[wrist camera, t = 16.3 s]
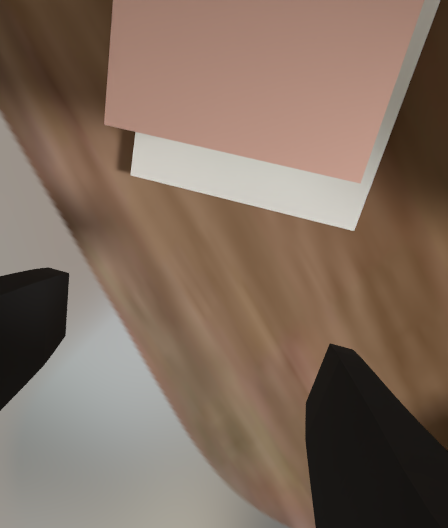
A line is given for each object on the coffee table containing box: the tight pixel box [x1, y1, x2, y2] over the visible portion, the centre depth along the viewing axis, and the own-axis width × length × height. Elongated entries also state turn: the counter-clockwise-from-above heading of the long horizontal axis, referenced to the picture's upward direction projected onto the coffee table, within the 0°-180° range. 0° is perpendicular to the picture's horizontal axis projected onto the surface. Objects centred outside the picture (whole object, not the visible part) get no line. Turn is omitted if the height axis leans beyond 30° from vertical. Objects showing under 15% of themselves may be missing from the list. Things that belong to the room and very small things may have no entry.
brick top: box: [104, 0, 424, 183], centre depth 8 cm, size 5×5×5 cm
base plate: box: [131, 0, 440, 231], centre depth 16 cm, size 11×11×1 cm
